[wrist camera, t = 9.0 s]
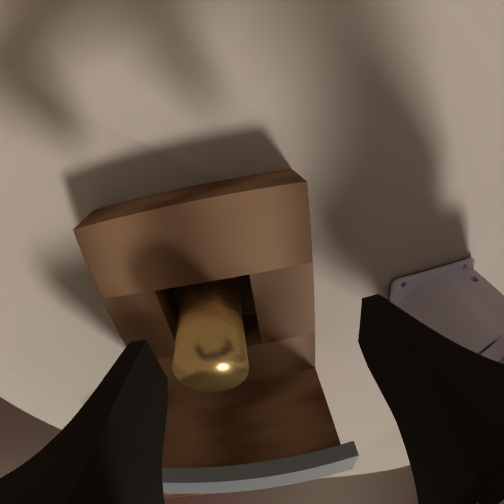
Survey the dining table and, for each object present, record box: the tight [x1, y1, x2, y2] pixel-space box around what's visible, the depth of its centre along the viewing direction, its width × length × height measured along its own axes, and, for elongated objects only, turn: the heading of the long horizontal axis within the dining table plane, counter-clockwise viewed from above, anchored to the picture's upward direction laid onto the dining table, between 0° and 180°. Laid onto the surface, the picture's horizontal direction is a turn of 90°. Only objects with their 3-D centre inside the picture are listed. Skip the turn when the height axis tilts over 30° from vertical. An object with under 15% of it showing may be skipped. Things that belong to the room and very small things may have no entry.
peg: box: [172, 277, 249, 392], centre depth 16 cm, size 4×4×7 cm
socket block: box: [73, 170, 359, 494], centre depth 14 cm, size 13×15×11 cm
